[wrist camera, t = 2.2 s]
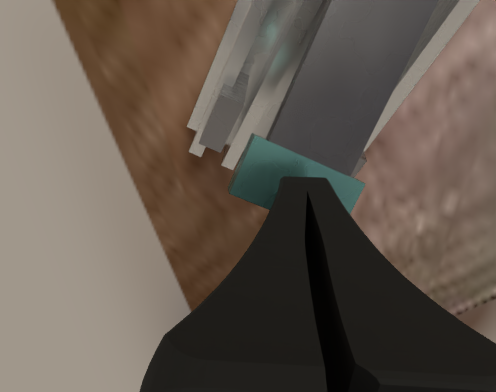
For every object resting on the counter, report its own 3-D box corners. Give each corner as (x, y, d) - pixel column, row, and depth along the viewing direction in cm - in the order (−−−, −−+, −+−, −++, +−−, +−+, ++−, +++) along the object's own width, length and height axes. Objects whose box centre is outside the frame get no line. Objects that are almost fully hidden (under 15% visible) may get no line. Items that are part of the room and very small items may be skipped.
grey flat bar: (377, -156, 11) (392, -176, 10) (487, -84, 12) (509, -98, 11) (227, 187, 13) (229, 193, 13) (329, 228, 14) (338, 237, 13)
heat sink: (322, -208, 13) (337, -248, 9) (507, -85, 15) (585, -77, 11) (192, 113, 21) (172, 163, 17) (325, 171, 22) (333, 228, 19)
